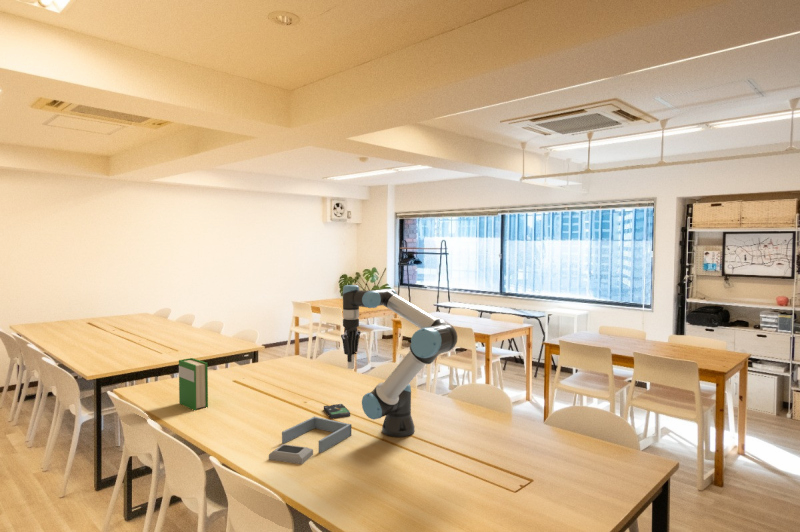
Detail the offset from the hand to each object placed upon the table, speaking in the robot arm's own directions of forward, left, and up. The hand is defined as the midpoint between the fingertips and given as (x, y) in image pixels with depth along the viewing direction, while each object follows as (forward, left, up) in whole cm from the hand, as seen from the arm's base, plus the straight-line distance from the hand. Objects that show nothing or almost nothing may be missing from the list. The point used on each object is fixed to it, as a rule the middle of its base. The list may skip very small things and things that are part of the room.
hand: (350, 368), depth 231 cm
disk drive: (+20, -16, -30) cm, 40 cm away
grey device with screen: (+5, +37, -30) cm, 48 cm away
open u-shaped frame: (+7, +16, -29) cm, 34 cm away
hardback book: (+95, +12, -30) cm, 100 cm away
